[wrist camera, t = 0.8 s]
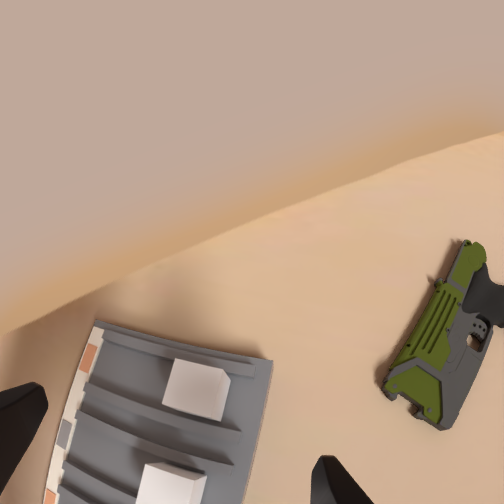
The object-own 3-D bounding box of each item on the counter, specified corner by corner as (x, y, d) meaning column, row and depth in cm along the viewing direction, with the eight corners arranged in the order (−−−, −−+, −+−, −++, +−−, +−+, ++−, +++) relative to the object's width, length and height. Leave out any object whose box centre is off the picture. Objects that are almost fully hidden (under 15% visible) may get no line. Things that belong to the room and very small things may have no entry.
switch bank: (216, 596, 10) (208, 611, 7) (53, 523, 12) (32, 525, 10) (273, 367, 21) (272, 356, 19) (106, 328, 24) (90, 314, 22)
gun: (486, 468, 13) (367, 389, 21) (542, 309, 21) (452, 241, 28) (502, 467, 11) (375, 382, 19) (554, 298, 19) (460, 226, 26)
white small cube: (197, 512, 13) (183, 523, 11) (155, 498, 14) (135, 504, 11) (207, 475, 15) (194, 480, 12) (164, 462, 15) (145, 463, 13)
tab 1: (220, 421, 17) (210, 417, 15) (178, 410, 18) (161, 403, 15) (230, 380, 19) (222, 369, 16) (189, 370, 19) (175, 358, 17)
